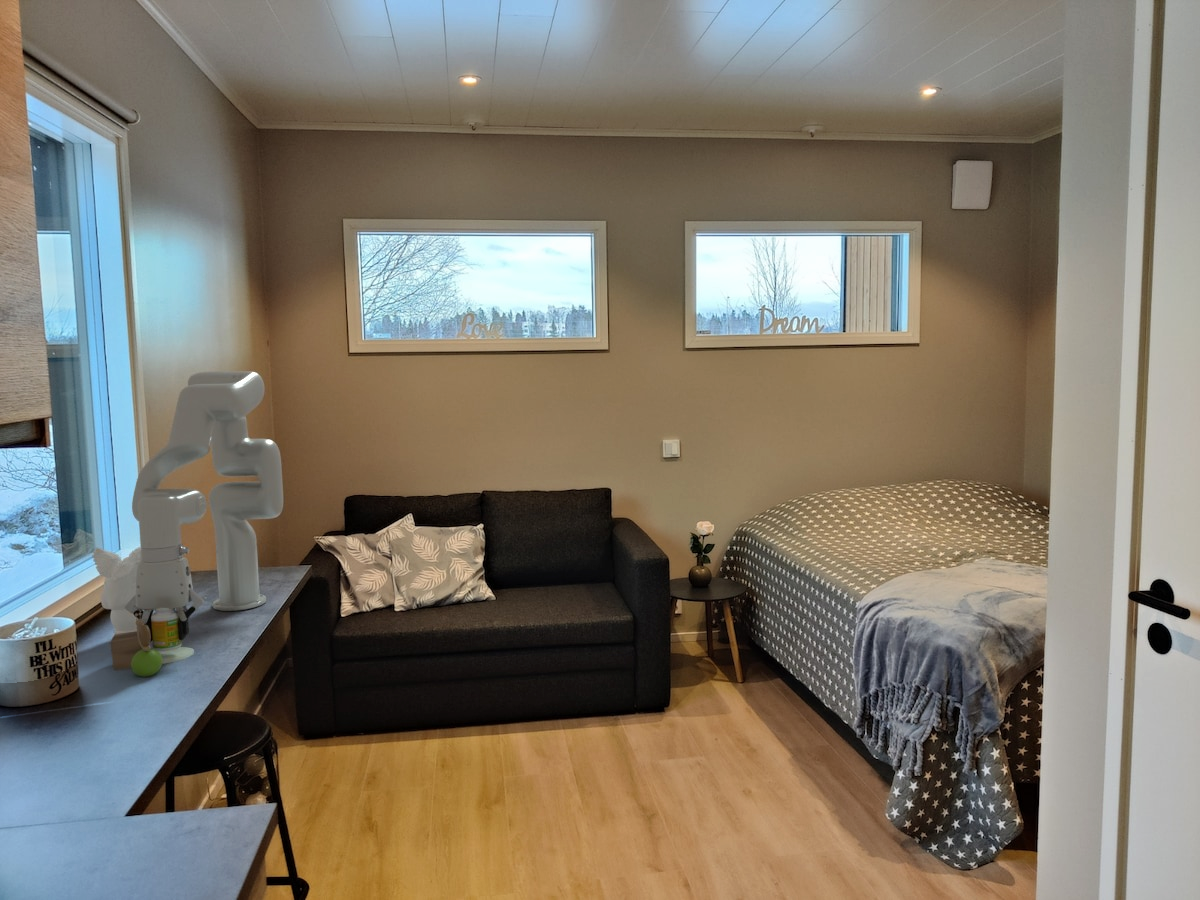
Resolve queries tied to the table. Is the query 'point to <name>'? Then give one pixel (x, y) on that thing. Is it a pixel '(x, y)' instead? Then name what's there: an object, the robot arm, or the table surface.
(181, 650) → the felt coaster
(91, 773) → the table surface
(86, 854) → the table surface
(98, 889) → the table surface
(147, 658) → the snail figurine
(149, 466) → the robot arm
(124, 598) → the cherub figurine
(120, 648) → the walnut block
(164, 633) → the supplement bottle
